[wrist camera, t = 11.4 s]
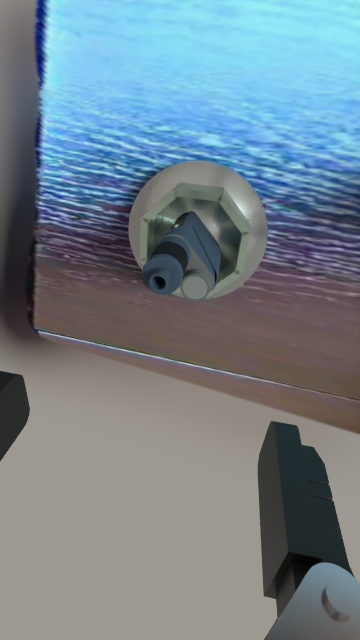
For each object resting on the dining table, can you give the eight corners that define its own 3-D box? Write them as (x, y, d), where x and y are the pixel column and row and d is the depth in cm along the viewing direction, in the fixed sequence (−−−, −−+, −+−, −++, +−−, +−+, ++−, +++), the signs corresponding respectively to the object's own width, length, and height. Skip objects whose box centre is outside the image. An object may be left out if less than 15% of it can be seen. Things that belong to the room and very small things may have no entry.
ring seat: (133, 151, 27) (119, 155, 24) (281, 168, 26) (287, 175, 23) (131, 284, 34) (120, 301, 31) (251, 302, 33) (252, 321, 30)
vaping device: (190, 202, 28) (161, 251, 17) (227, 252, 29) (220, 324, 19) (166, 221, 29) (126, 278, 19) (203, 269, 30) (184, 344, 20)
